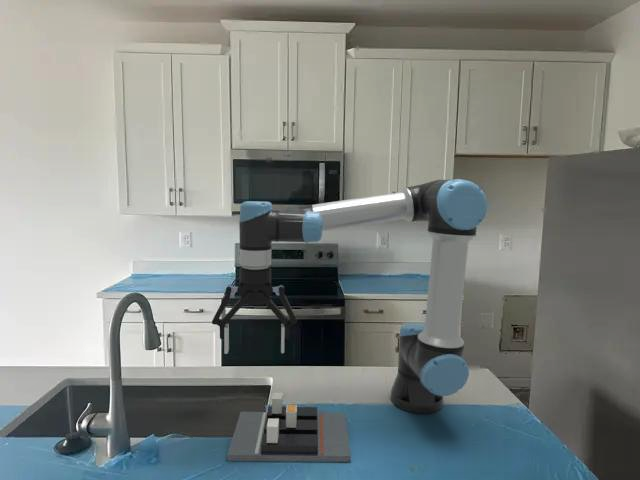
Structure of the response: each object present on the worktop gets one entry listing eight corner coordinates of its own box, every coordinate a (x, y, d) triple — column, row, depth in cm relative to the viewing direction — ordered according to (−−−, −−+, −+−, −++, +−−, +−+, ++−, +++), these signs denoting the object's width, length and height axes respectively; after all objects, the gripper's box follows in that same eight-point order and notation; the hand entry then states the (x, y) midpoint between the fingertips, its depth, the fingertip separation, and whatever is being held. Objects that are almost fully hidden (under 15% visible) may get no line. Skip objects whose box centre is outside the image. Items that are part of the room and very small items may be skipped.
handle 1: (282, 406, 118) (282, 392, 117) (281, 413, 114) (281, 399, 114) (273, 406, 118) (273, 392, 117) (271, 413, 114) (271, 398, 114)
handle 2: (278, 434, 105) (278, 418, 104) (277, 443, 101) (277, 426, 101) (268, 434, 105) (268, 418, 104) (266, 442, 101) (266, 426, 101)
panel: (344, 418, 120) (344, 405, 119) (350, 462, 101) (351, 447, 101) (240, 416, 119) (240, 404, 119) (227, 461, 100) (227, 446, 100)
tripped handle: (296, 420, 111) (296, 404, 111) (296, 427, 108) (296, 411, 107) (286, 419, 111) (286, 404, 111) (285, 427, 108) (286, 411, 107)
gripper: (306, 263, 111) (304, 345, 114) (204, 262, 108) (205, 346, 111) (308, 269, 103) (306, 356, 106) (199, 268, 101) (200, 357, 104)
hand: (254, 351), depth 109 cm, fingers open, 13 cm apart
